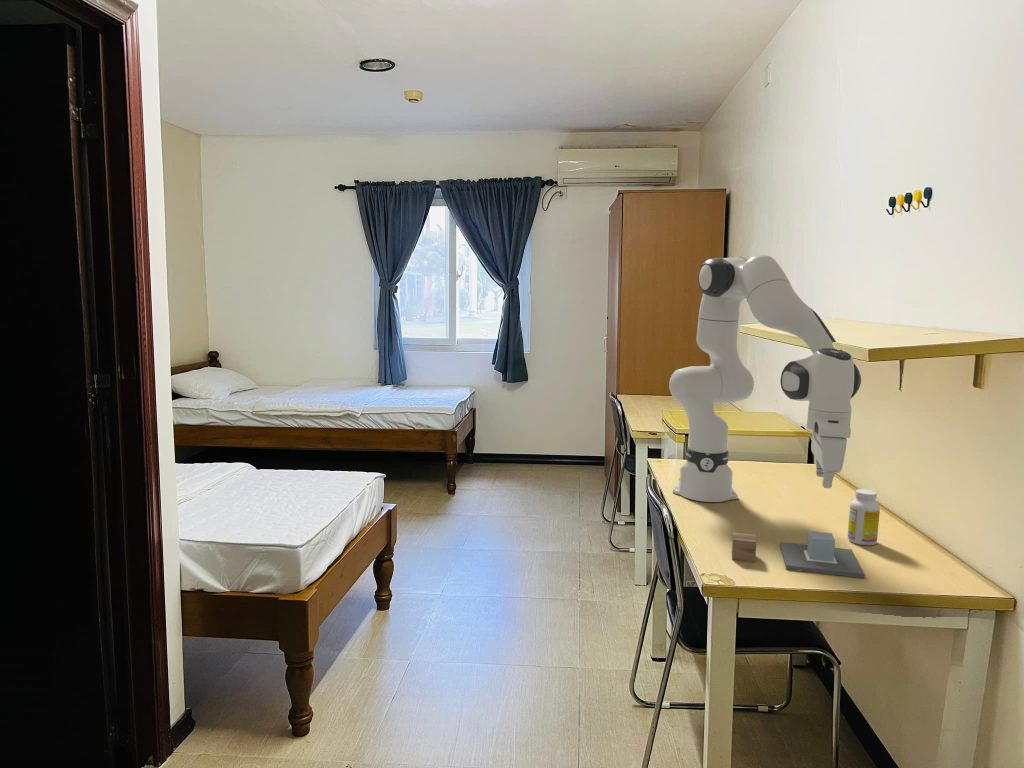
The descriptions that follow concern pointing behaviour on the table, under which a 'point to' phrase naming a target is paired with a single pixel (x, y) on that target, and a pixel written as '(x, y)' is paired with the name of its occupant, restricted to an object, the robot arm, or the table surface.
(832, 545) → the blue block
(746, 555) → the walnut block
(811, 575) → the table surface
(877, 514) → the supplement bottle
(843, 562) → the dark grey flat slab
